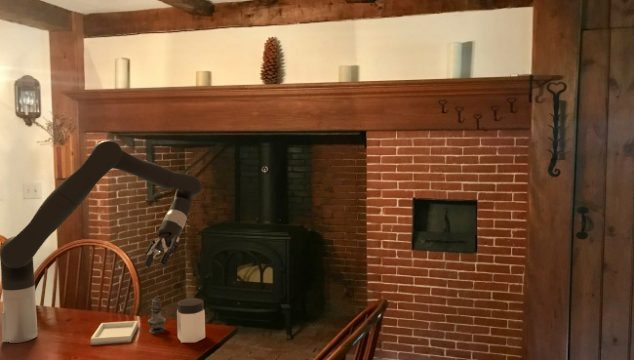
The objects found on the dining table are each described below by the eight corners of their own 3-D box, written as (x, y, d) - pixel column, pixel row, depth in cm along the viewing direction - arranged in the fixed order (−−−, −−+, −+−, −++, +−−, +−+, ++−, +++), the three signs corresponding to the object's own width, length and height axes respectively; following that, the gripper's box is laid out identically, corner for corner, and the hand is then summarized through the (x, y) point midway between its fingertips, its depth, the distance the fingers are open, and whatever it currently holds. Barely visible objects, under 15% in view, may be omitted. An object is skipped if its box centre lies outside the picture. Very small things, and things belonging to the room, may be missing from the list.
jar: (208, 340, 168) (207, 303, 167) (182, 345, 164) (181, 308, 164) (199, 331, 176) (198, 296, 175) (175, 335, 172) (174, 300, 171)
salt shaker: (155, 335, 173) (153, 299, 172) (144, 331, 177) (143, 296, 176) (169, 329, 178) (168, 295, 177) (159, 326, 181) (158, 292, 180)
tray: (90, 344, 165) (90, 338, 165) (101, 328, 179) (101, 323, 179) (130, 342, 167) (130, 336, 167) (138, 326, 181) (137, 320, 181)
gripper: (152, 222, 188) (133, 261, 179) (178, 216, 180) (159, 257, 170) (167, 233, 192) (149, 272, 183) (193, 228, 184) (175, 269, 175)
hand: (154, 265), depth 177 cm, fingers open, 8 cm apart
